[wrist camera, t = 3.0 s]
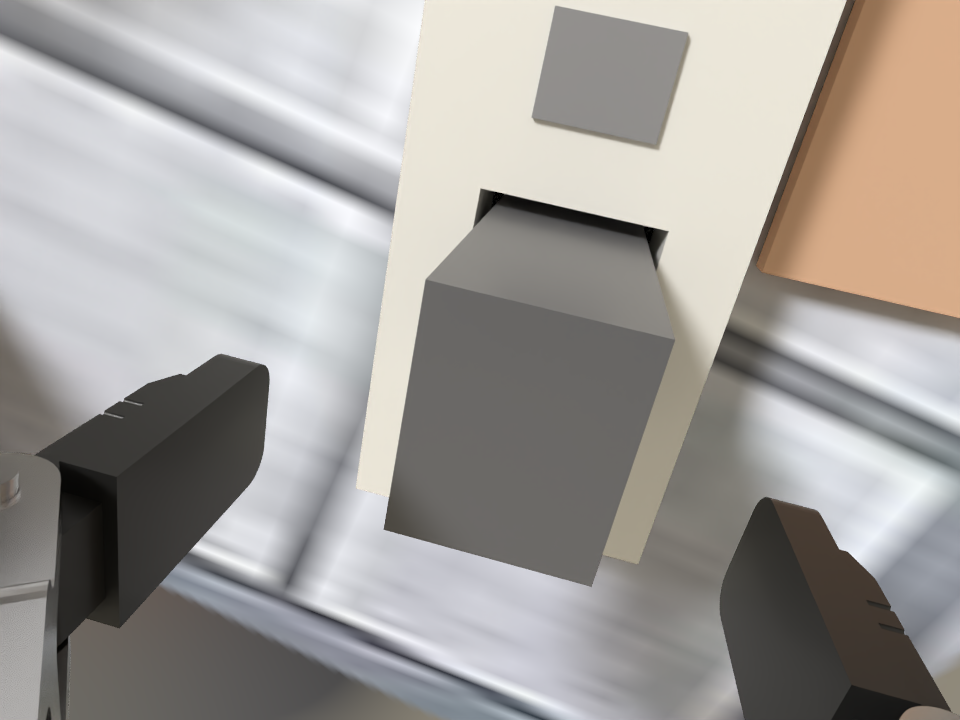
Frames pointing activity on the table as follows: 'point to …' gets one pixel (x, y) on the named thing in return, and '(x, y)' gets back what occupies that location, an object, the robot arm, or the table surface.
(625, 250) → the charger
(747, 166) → the power strip
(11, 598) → the robot arm
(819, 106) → the mat
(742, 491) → the table surface
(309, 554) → the table surface
